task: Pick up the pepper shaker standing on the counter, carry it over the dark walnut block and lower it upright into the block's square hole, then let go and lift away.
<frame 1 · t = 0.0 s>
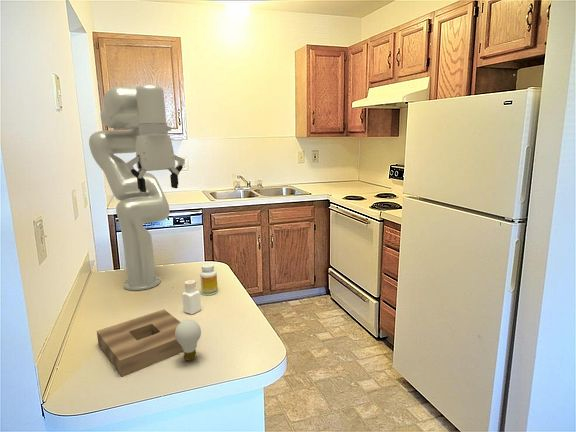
hand: (159, 189, 115), 37 cm above the counter, tool pointing down, fingers open, 9 cm apart
supplement bottle: (209, 293, 131), on the counter
pepper shaker: (192, 311, 118), on the counter
light bulb: (190, 360, 92), on the counter
socket block: (146, 346, 99), on the counter
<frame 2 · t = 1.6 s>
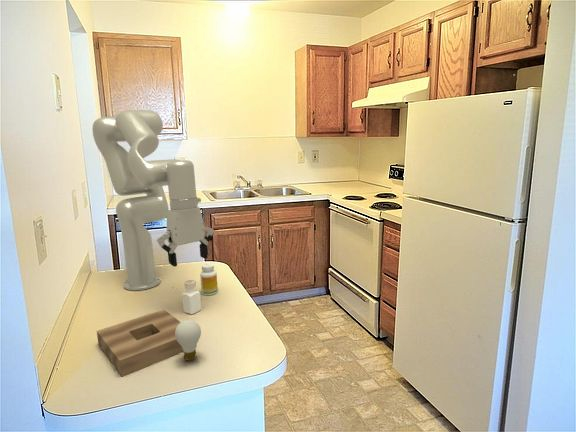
hand: (189, 261, 114), 16 cm above the counter, tool pointing down, fingers open, 9 cm apart
nothing on the counter moved.
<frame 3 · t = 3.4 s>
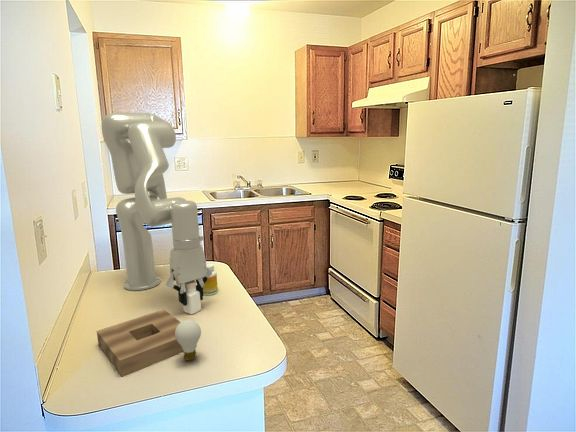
hand: (191, 300, 117), 3 cm above the counter, tool pointing down, fingers closed on pepper shaker, 4 cm apart
pepper shaker: (192, 311, 118), on the counter, touching gripper
everything else where it was.
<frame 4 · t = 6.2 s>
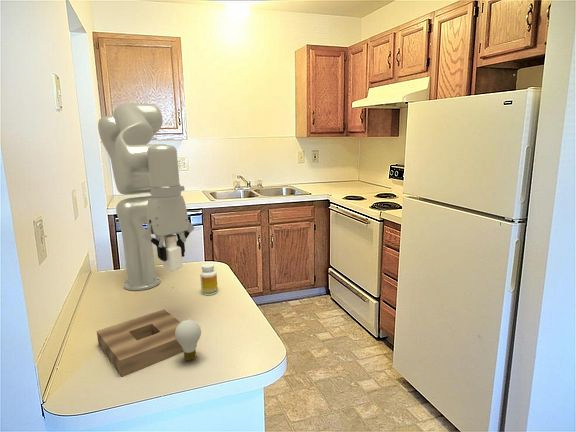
hand: (172, 257, 107), 20 cm above the counter, tool pointing down, fingers closed on pepper shaker, 4 cm apart
pepper shaker: (173, 269, 108), point 16 cm above the counter, touching gripper
everything else where it was.
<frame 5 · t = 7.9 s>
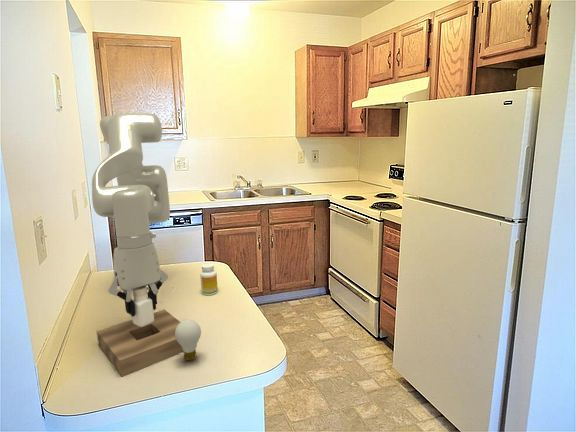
hand: (142, 310, 97), 10 cm above the counter, tool pointing down, fingers closed on pepper shaker, 4 cm apart
pepper shaker: (143, 323, 97), point 6 cm above the counter, touching gripper
everything else where it was.
when the fingers open (5 cm above the counter, at t = 9.2 s): pepper shaker drops 2 cm, resting in socket block.
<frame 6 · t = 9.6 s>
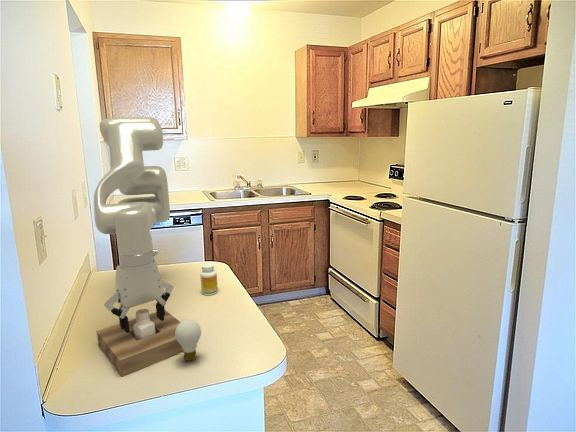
hand: (143, 324, 98), 6 cm above the counter, tool pointing down, fingers open, 8 cm apart
pepper shaker: (146, 346, 99), resting in socket block
everything else where it was.
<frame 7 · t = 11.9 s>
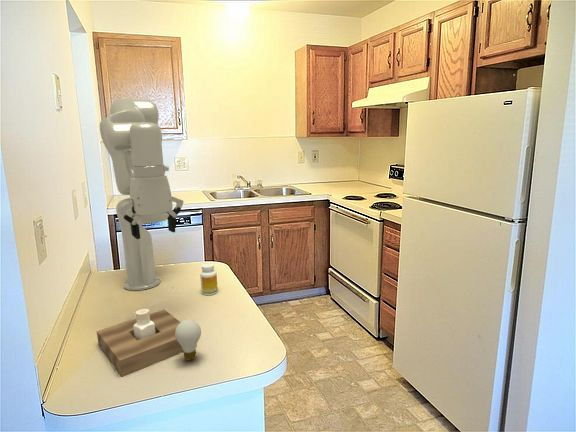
hand: (154, 234, 106), 26 cm above the counter, tool pointing down, fingers open, 9 cm apart
nothing on the counter moved.
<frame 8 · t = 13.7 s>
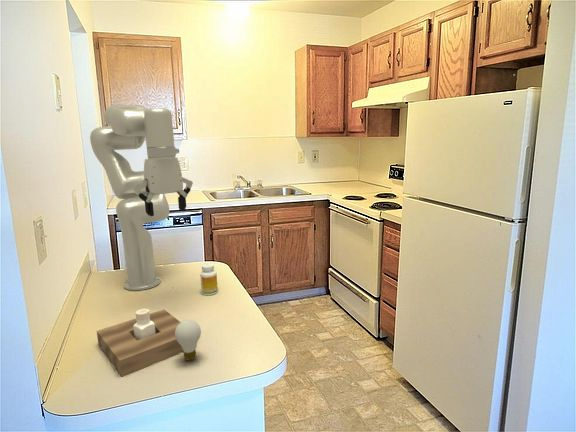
hand: (166, 212, 113), 30 cm above the counter, tool pointing down, fingers open, 9 cm apart
nothing on the counter moved.
at the end: pepper shaker 0.1 cm off-centre on the socket block, point 0.0 cm above the socket block's base; pepper shaker tilted 0°; the gripper is holding nothing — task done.
